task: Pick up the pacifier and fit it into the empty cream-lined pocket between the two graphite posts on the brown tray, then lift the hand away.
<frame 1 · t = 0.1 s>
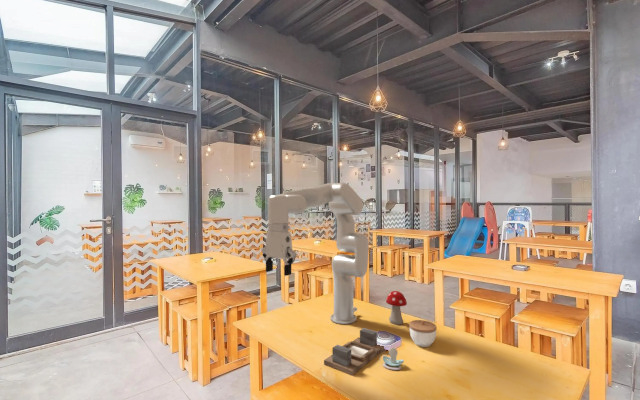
hand: (278, 273, 126), 31 cm above the table, tool pointing down, fingers open, 9 cm apart
brown tray: (355, 356, 125), on the table
decorative mushroom: (396, 323, 158), on the table
lidded jar: (422, 344, 136), on the table
pacifier: (392, 367, 118), on the table
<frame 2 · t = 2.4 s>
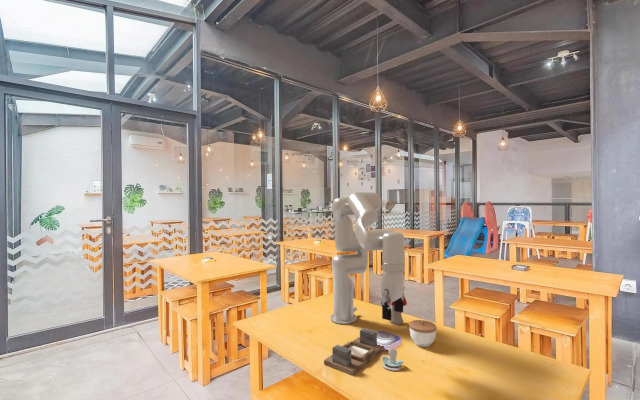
hand: (392, 315, 118), 18 cm above the table, tool pointing down, fingers open, 9 cm apart
nothing on the table moved.
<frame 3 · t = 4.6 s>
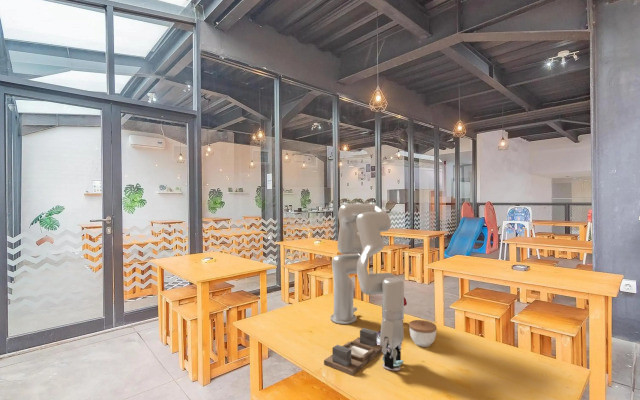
hand: (392, 363, 118), 1 cm above the table, tool pointing down, fingers closed on pacifier, 5 cm apart
pacifier: (392, 367, 118), on the table, touching gripper
everything else where it was.
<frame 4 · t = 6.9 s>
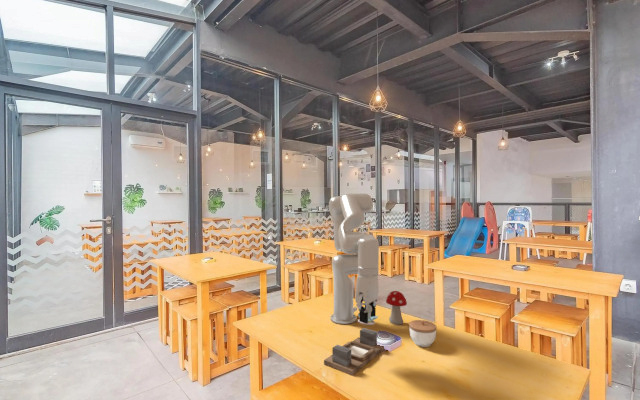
hand: (367, 319, 123), 15 cm above the table, tool pointing down, fingers closed on pacifier, 5 cm apart
pacifier: (367, 322, 123), point 14 cm above the table, touching gripper
everything else where it was.
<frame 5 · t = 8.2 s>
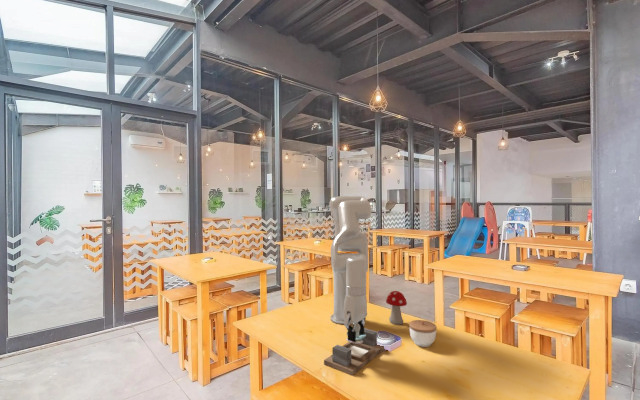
hand: (356, 338, 125), 7 cm above the table, tool pointing down, fingers closed on pacifier, 5 cm apart
pacifier: (355, 341, 124), point 6 cm above the table, touching gripper
everything else where it was.
when the fingers open (4 cm above the table, at t = 9.2 s): pacifier drops 1 cm, resting on brown tray.
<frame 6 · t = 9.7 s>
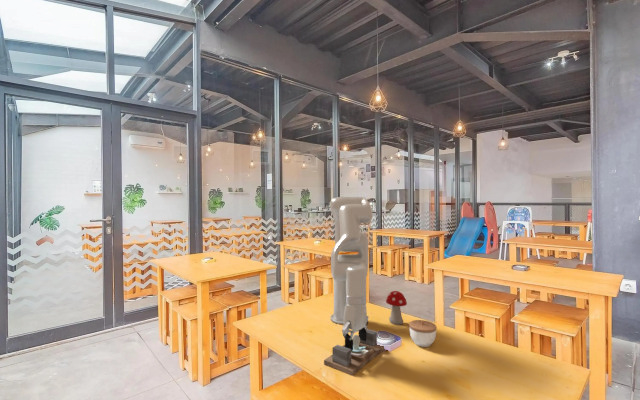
hand: (355, 344, 125), 4 cm above the table, tool pointing down, fingers open, 9 cm apart
pacifier: (355, 353, 125), point 1 cm above the table, touching brown tray
everything else where it was.
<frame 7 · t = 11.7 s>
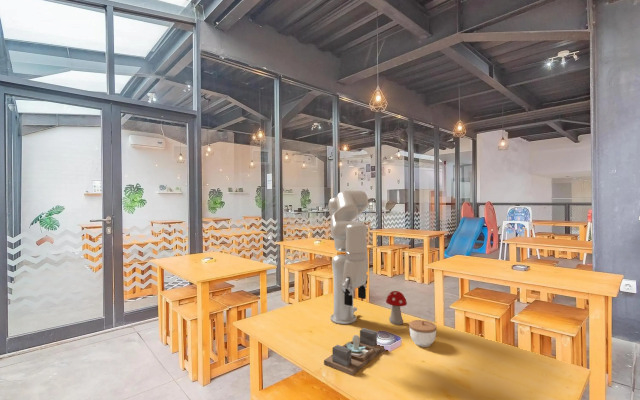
hand: (355, 301, 126), 20 cm above the table, tool pointing down, fingers open, 9 cm apart
nothing on the table moved.
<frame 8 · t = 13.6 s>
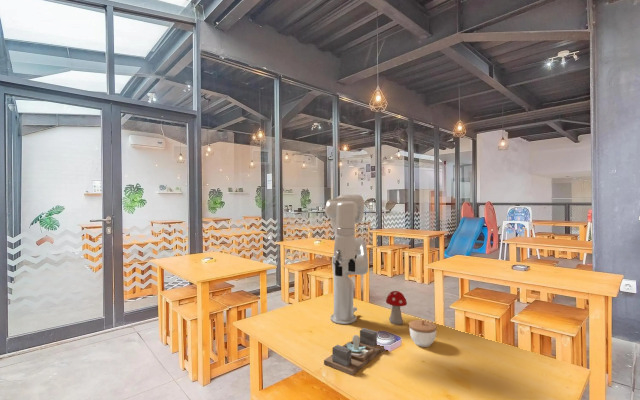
hand: (345, 273, 137), 28 cm above the table, tool pointing down, fingers open, 9 cm apart
nothing on the table moved.
at the end: pacifier 0.6 cm off-centre on the brown tray, point 1.4 cm above the brown tray's base; pacifier touching brown tray; the gripper is holding nothing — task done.
